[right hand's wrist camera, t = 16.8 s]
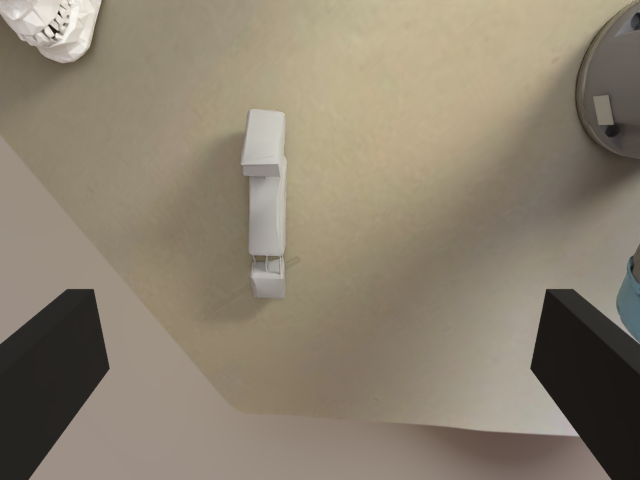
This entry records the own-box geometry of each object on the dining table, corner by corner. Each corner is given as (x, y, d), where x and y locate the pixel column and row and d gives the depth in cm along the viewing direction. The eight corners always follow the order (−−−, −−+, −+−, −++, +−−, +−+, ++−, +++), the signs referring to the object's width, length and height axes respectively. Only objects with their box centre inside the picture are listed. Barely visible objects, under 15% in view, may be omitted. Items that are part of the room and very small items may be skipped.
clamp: (248, 106, 42) (235, 119, 36) (287, 107, 42) (280, 120, 36) (256, 281, 51) (246, 315, 45) (287, 282, 51) (282, 316, 45)
